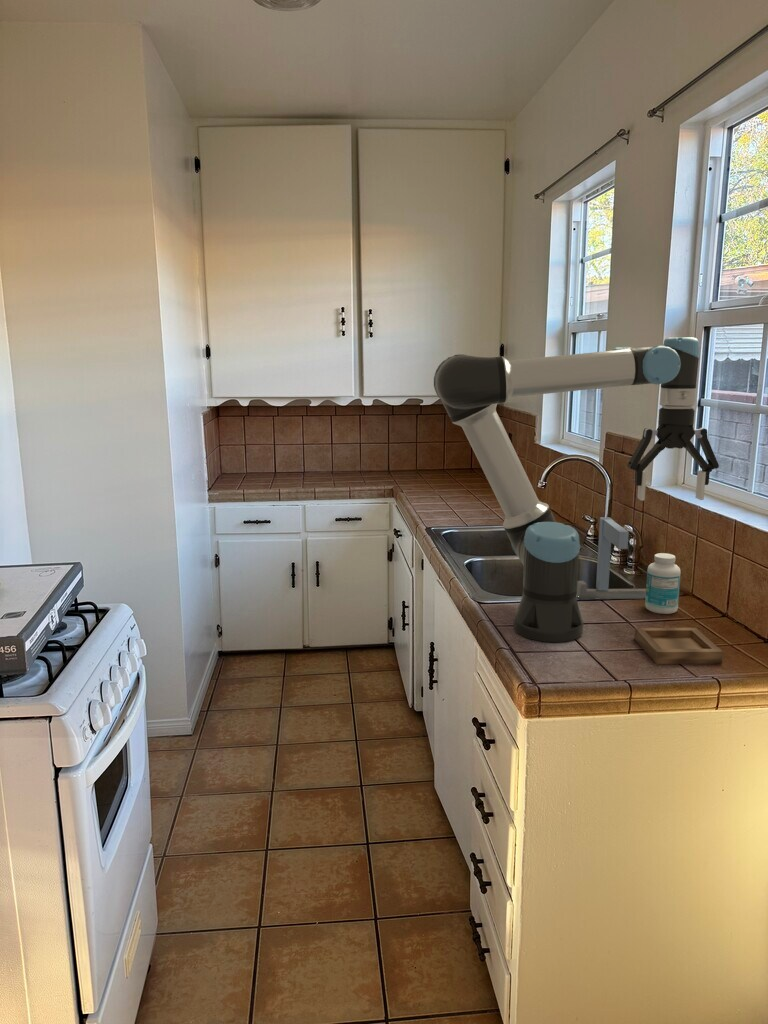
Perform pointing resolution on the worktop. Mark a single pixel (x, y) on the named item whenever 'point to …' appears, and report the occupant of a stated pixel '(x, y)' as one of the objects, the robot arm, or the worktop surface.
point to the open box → (678, 646)
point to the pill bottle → (663, 584)
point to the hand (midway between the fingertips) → (670, 499)
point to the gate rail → (608, 593)
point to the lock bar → (608, 548)
